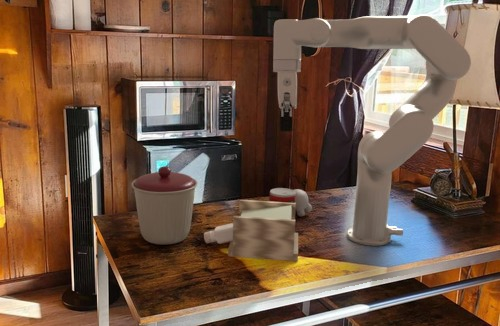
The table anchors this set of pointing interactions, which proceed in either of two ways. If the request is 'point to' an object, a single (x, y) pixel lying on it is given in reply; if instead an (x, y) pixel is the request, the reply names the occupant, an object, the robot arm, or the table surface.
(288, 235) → the stand
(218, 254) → the table surface
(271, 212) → the trapdoor
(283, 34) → the robot arm
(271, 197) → the canned food
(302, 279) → the table surface
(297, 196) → the chubby cartoon animal
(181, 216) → the canister
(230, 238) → the pepper shaker
